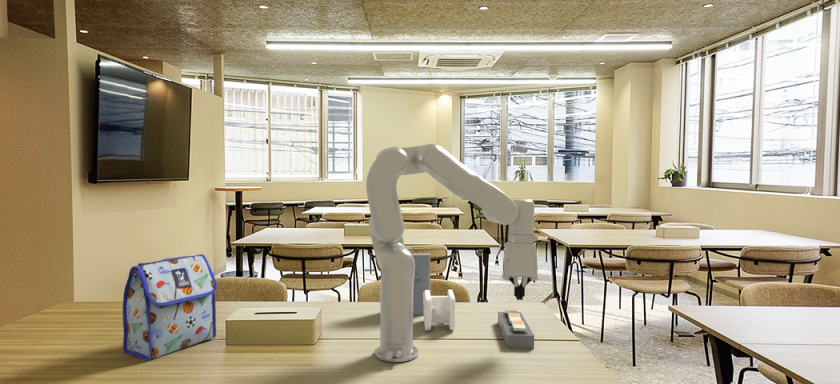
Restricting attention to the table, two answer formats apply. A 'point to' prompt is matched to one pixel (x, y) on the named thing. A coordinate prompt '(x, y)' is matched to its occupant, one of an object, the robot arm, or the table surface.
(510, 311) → the far rocker
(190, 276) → the lunch bag
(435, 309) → the cable organizer
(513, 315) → the middle rocker
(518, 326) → the plate
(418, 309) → the blue-grey tall flat block
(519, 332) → the power strip
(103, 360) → the table surface
